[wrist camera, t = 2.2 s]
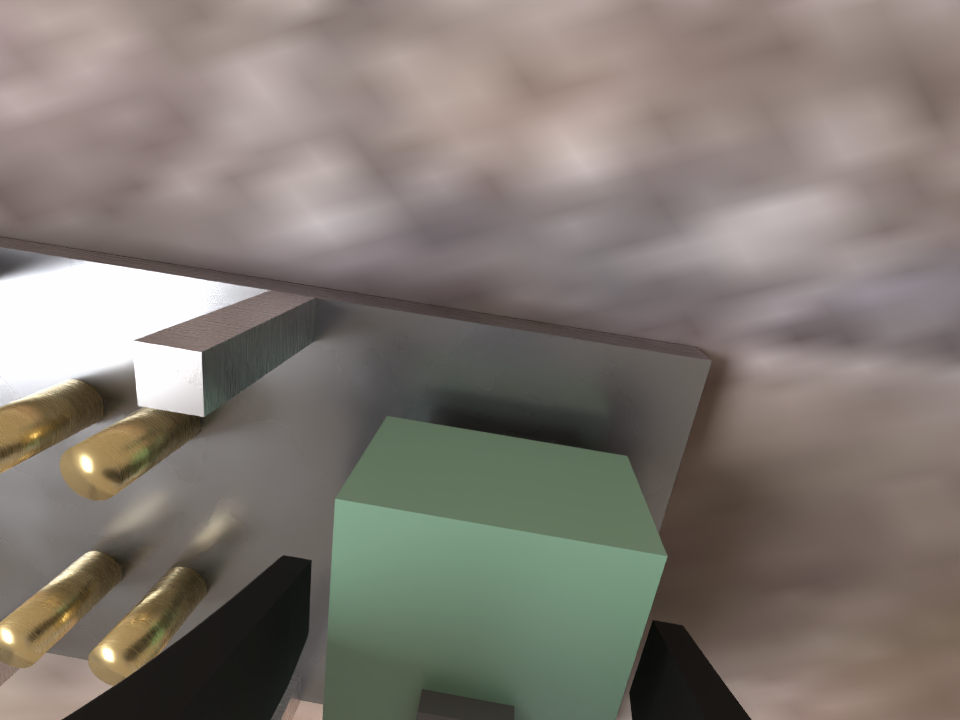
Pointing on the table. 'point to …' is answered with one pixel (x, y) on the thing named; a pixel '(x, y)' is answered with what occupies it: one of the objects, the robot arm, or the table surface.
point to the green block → (486, 579)
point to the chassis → (254, 435)
